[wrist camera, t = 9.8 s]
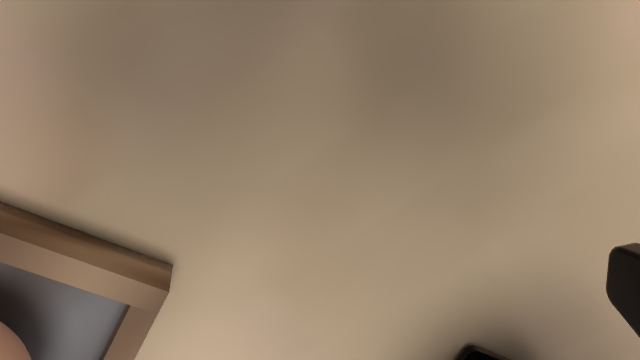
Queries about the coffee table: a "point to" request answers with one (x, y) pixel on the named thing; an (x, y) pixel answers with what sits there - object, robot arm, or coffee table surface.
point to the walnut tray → (75, 290)
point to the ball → (11, 345)
